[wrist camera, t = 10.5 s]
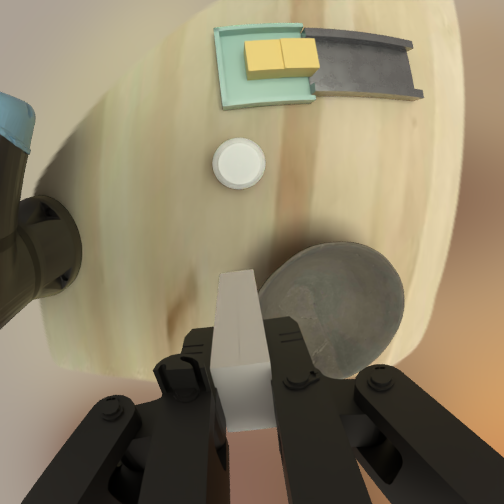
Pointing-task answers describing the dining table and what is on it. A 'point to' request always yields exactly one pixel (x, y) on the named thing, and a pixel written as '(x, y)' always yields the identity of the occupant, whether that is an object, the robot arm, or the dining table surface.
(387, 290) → the bowl
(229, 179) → the pill bottle
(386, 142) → the dining table surface
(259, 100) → the tray
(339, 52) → the slot rail
